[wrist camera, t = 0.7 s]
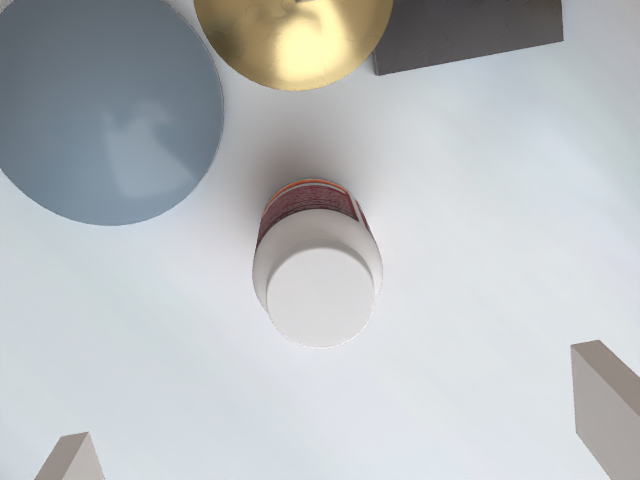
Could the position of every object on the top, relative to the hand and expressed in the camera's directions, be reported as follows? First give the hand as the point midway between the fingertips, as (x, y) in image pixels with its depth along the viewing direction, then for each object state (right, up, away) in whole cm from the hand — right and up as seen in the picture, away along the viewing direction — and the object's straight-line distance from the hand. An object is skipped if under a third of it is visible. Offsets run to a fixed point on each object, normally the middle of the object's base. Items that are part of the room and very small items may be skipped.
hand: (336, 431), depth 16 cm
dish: (-12, +13, +17) cm, 24 cm away
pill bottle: (-1, +6, +20) cm, 21 cm away
